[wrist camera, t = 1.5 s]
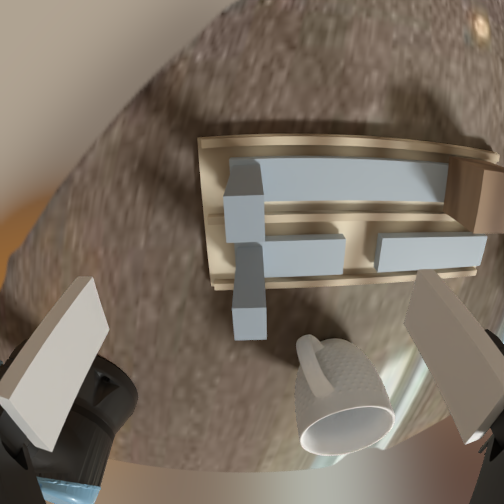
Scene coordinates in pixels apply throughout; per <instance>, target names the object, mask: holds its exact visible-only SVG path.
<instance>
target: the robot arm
mask: <svg viewBox="0 0 504 504" xmlns="http://www.w3.org/2000/svg"><path fill="white" fill-rule="evenodd" d="M404 325H405V327H406V329H407V331H408V332H409V334H410V336H411V338H412V339H413V341H414V343H415V345H416V347H417V348H418V350H419V352H420V354H421V356H422V358H423V360H424V361H425V363H426V365H427V367H428V369H429V371H430V373H431V375H432V377H433V379H434V381H435V383H436V385H437V387H438V389H439V391H440V393H441V395H442V397H443V399H444V401H445V403H446V405H447V407H448V409H449V411H450V413H451V415H452V417H453V420H454V422H455V424H456V426H457V428H458V430H459V433H460V435H461V437H462V440H463V442H464V444H468V443H470V442H473V441H475V440H478V439H480V438H482V437H483V436H484V434H485V433H486V432H487V431H488V429H489V428H491V430H492V432H493V434H492V436H491V437H490V438H489V439H488V440H487V441H486V442H485V444H484V445H483V446H482V447H481V448H480V450H479V453H482V451H483V450H484V449H485V448H486V447H487V450H486V453H485V454H484V455H485V457H484V461H483V464H482V468H481V471H480V474H479V477H478V480H477V483H476V486H475V490H474V492H473V495H472V498H471V500H470V503H469V504H504V344H503V343H502V342H501V340H500V339H499V338H498V337H497V336H496V335H495V334H493V333H492V332H491V331H489V330H488V329H486V330H484V329H483V328H482V326H481V325H480V324H479V323H478V321H477V320H476V319H475V318H474V316H473V315H472V314H471V313H470V311H469V310H468V309H467V308H466V307H465V305H464V304H463V303H462V302H461V301H460V299H459V298H458V297H457V296H456V295H455V293H454V292H453V291H452V290H451V289H450V288H449V286H448V285H447V284H446V283H445V282H444V281H443V280H442V278H441V277H440V276H439V275H438V274H437V273H436V272H435V271H434V270H433V269H420V270H418V271H417V275H416V279H415V283H414V287H413V291H412V295H411V299H410V303H409V306H408V310H407V313H406V317H405V320H404ZM108 331H109V327H108V324H107V321H106V318H105V315H104V312H103V309H102V306H101V303H100V300H99V296H98V293H97V290H96V286H95V283H94V279H93V277H77V278H76V279H75V280H74V282H73V283H72V284H71V285H70V286H69V288H68V289H67V290H66V291H65V293H64V294H63V295H62V296H61V297H60V299H59V300H58V301H57V303H56V304H55V305H54V306H53V308H52V309H51V310H50V311H49V313H48V314H47V315H46V317H45V318H44V319H43V321H42V322H41V323H40V325H39V326H38V327H37V329H36V330H35V331H34V333H33V334H32V335H31V337H30V338H29V339H28V340H25V341H23V342H22V343H21V344H20V345H19V346H17V347H16V348H15V350H14V351H13V352H12V354H11V355H10V357H9V359H7V361H6V362H5V364H4V365H3V362H2V361H1V360H0V504H46V502H45V500H47V501H49V502H52V503H54V504H94V503H95V501H96V498H97V495H98V493H99V490H100V489H101V487H100V486H101V482H102V478H103V475H104V471H105V467H106V464H107V460H108V457H109V453H110V450H111V447H112V443H113V440H114V437H115V434H116V433H117V432H118V431H119V429H120V428H121V427H122V426H123V425H124V423H125V422H126V421H127V419H128V418H129V417H130V416H131V415H132V414H133V412H134V410H135V407H136V404H137V400H138V393H137V390H136V388H135V386H134V384H133V383H132V381H131V380H130V379H129V378H128V376H127V375H126V374H124V373H123V372H122V371H121V370H120V369H119V368H117V367H116V366H115V365H113V364H111V363H110V362H108V361H106V360H105V359H103V358H100V357H98V356H96V355H97V353H98V351H99V349H100V347H101V345H102V343H103V341H104V339H105V337H106V335H107V333H108Z"/></svg>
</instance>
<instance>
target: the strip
mask: <svg viewBox="0 0 504 504" xmlns="http://www.w3.org/2000/svg"><path fill="white" fill-rule="evenodd" d="M448 165H449V163H441V162H431V161H420V160H407V159H393V158H376V157H352V156H254V157H231V158H230V159H229V166H230V176H229V179H228V182H227V185H226V189H225V192H224V195H223V203H224V217H225V231H226V243H241V242H265V214H264V202H270V201H325V200H368V201H421V202H444V198H445V191H446V183H447V175H448Z"/></svg>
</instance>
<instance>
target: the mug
mask: <svg viewBox="0 0 504 504" xmlns="http://www.w3.org/2000/svg"><path fill="white" fill-rule="evenodd" d="M296 350H297V354H298V358H299V362H300V366H299V368H298V373H297V378H296V385H295V412H296V421H297V427H298V434H299V441H300V444H301V446H302V447H303V448H304V449H305V450H307V451H309V452H311V453H314V454H318V455H324V456H335V455H343V454H348V453H352V452H355V451H358V450H361V449H364V448H366V447H368V446H370V445H372V444H374V443H376V442H377V441H379V440H380V439H382V438H383V437H384V436H385V435H386V434H387V433H388V432H389V431H390V430H391V428H392V427H393V425H394V422H395V414H394V411H393V409H392V406H391V402H390V400H389V397H388V394H387V392H386V389H385V386H384V385H383V383H382V380H381V378H380V376H379V373H378V372H377V370H376V369H375V367H374V365H373V364H372V363H371V361H370V360H369V358H368V357H367V356H366V354H364V353H363V352H362V350H361V349H359V348H358V347H357V346H355V345H354V344H352V343H350V342H348V341H346V340H343V339H337V338H333V339H326V340H323V341H321V342H320V341H319V340H318V339H317V338H316V337H314V336H313V335H310V334H309V335H304V336H302V337H300V338H299V339H298V340H297V342H296Z"/></svg>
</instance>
